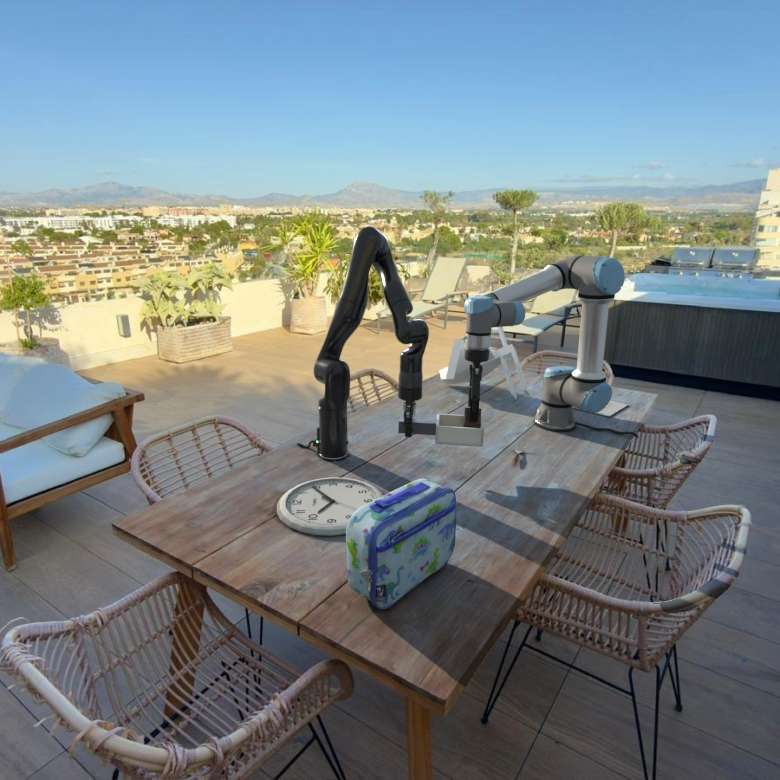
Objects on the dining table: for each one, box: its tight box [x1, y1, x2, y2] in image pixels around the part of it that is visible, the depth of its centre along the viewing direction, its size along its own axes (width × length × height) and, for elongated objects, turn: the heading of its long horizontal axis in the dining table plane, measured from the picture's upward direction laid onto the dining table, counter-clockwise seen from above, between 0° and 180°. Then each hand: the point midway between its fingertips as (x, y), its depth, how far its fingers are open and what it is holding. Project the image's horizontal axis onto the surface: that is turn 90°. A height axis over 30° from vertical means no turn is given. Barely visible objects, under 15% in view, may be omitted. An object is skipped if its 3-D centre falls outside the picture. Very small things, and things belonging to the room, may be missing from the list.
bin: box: [397, 413, 485, 448], centre depth 167 cm, size 27×12×6 cm, turn 83°
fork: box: [514, 442, 525, 466], centre depth 175 cm, size 3×16×2 cm, turn 160°
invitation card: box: [573, 400, 629, 418], centre depth 226 cm, size 21×1×15 cm
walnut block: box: [463, 407, 482, 428], centre depth 166 cm, size 5×5×7 cm
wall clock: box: [276, 476, 385, 537], centre depth 142 cm, size 30×2×30 cm
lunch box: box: [345, 477, 457, 610], centre depth 110 cm, size 26×11×21 cm, turn 134°
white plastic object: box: [438, 327, 531, 400], centre depth 245 cm, size 37×45×31 cm
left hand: (408, 434), depth 169 cm, fingers closed on bin, 3 cm apart
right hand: (472, 413), depth 167 cm, fingers open, 12 cm apart
